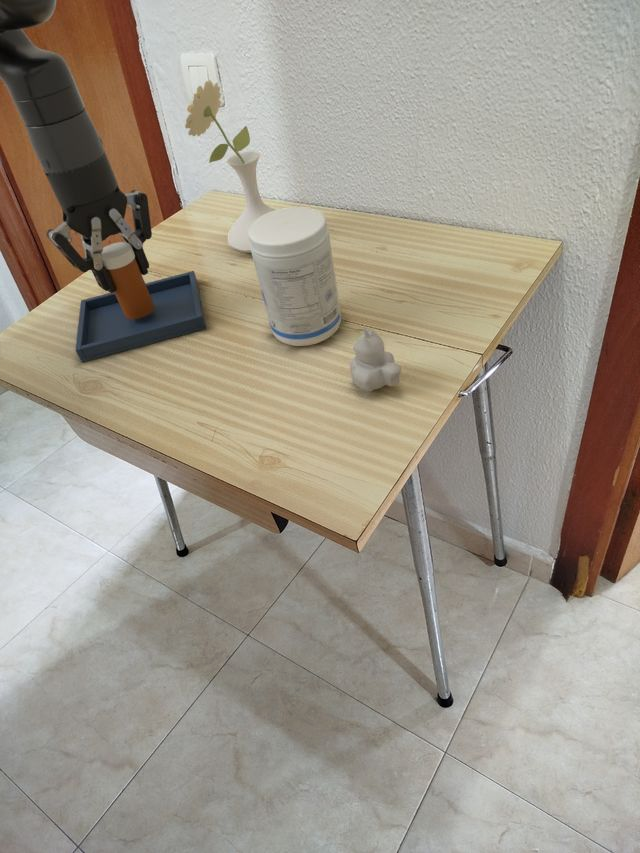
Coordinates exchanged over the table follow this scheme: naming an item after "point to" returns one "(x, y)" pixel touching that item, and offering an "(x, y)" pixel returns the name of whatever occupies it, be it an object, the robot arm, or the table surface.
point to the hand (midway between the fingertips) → (126, 281)
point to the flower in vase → (230, 161)
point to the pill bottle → (127, 280)
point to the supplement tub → (296, 274)
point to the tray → (115, 333)
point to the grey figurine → (373, 363)
